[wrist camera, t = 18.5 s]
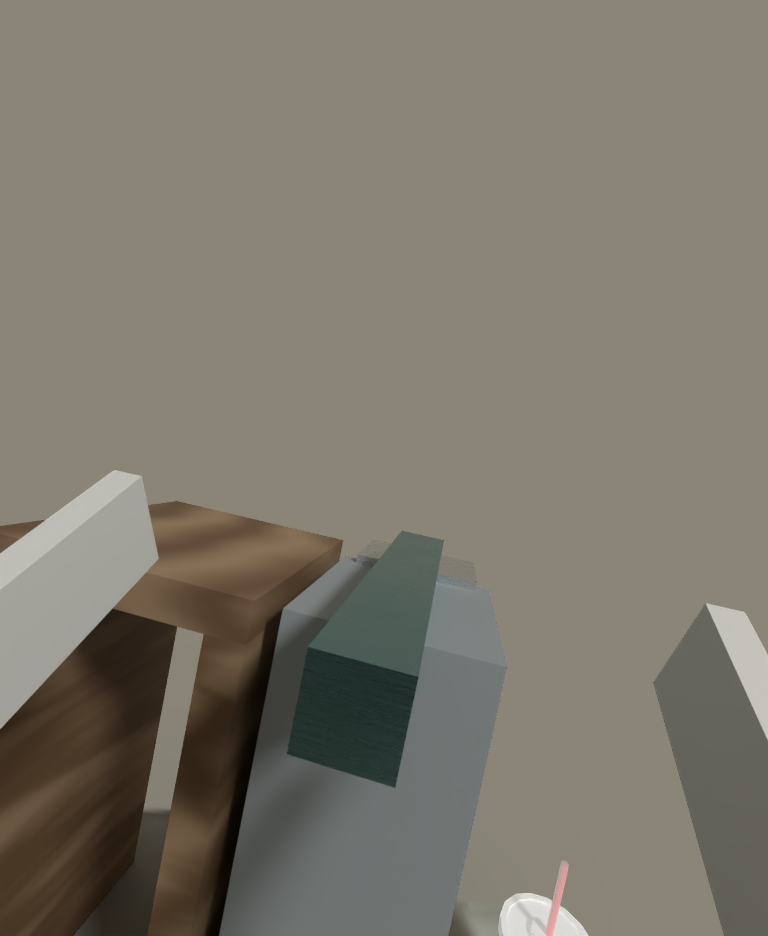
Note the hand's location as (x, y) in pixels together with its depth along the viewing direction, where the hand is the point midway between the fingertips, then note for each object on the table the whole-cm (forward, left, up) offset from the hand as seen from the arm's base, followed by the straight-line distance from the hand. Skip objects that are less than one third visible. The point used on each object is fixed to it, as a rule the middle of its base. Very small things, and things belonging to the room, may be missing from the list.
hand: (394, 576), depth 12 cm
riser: (-13, +16, -35) cm, 40 cm away
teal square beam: (0, +13, -5) cm, 14 cm away
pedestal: (0, +15, -35) cm, 38 cm away
